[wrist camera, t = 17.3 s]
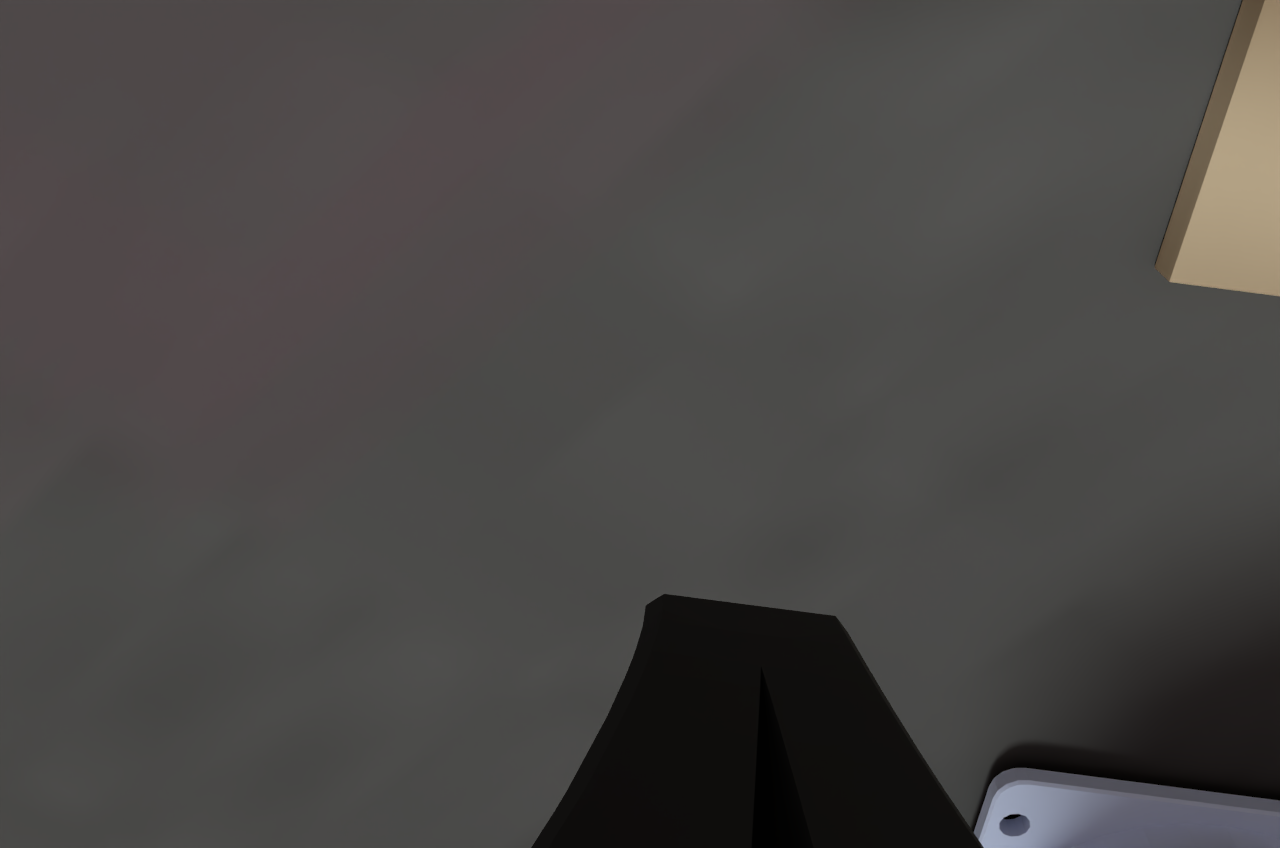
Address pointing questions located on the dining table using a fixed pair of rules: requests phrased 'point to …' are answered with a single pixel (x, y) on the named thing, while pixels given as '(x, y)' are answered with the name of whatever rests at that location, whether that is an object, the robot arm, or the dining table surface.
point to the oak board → (1234, 170)
